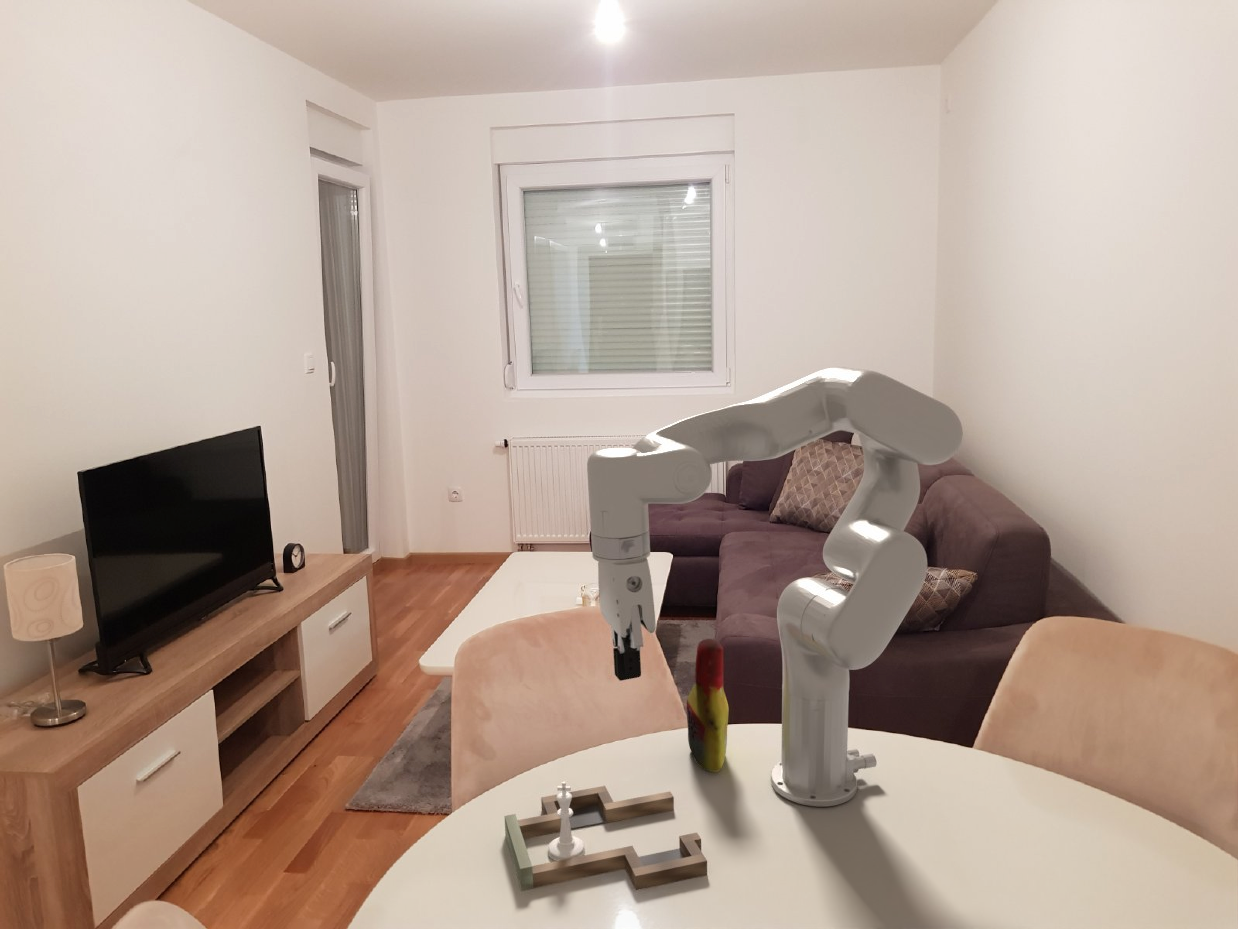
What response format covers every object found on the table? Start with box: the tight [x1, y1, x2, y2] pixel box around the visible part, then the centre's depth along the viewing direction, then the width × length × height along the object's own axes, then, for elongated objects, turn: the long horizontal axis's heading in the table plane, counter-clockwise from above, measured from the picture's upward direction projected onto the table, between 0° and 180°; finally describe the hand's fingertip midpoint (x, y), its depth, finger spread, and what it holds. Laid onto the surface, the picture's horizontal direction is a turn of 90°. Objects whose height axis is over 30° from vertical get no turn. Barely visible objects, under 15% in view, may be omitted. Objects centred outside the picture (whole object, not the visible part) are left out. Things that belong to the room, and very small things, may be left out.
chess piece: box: [547, 781, 586, 862], centre depth 117 cm, size 5×5×10 cm
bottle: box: [686, 638, 729, 772], centre depth 138 cm, size 12×6×20 cm, turn 1°
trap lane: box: [504, 785, 708, 891], centre depth 119 cm, size 24×21×3 cm
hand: (628, 676), depth 118 cm, fingers closed
